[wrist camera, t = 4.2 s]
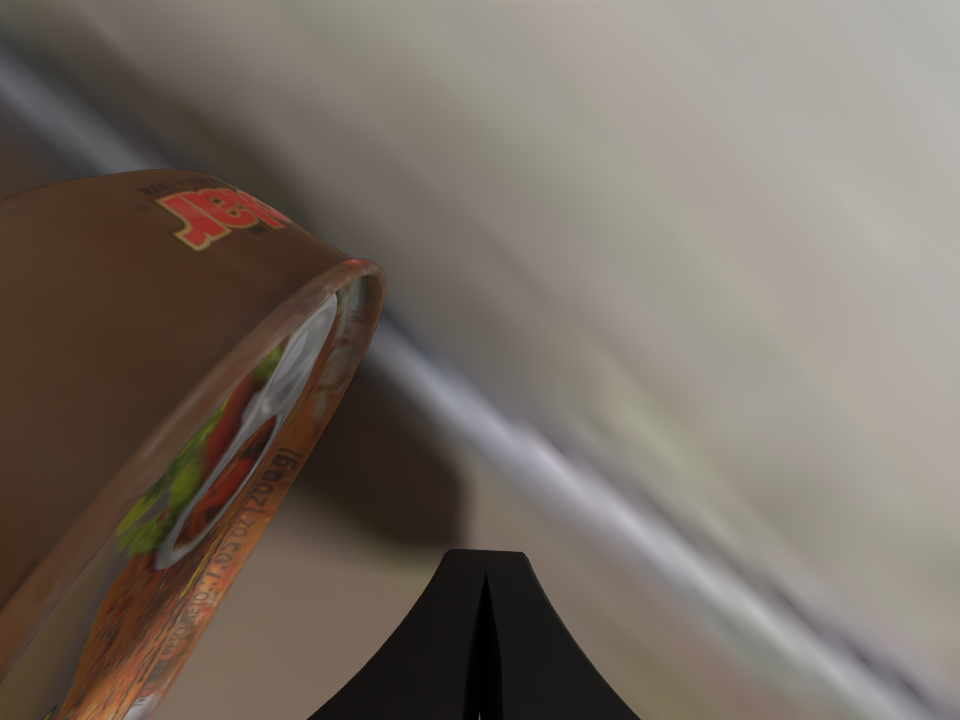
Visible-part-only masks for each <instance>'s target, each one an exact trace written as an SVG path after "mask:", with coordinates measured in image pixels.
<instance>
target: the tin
mask: <svg viewBox="0 0 960 720" xmlns="http://www.w3.org/2000/svg"><path fill="white" fill-rule="evenodd" d="M385 292H386V282H385V276H384V273H383V270H382V268H381V267H380V266H378V265H377V264H376V263H374V262H372V261H370V260H366V259H353V258H351V257H349V256H348V255H346V254H344V253H343V252H341V251H339V250H338V249H336V248H334V247H333V246H331V245H329V244H327V243H326V242H324V241H322V240H321V239H319V238H317V237H316V236H314V235H313V234H311V233H310V232H308V231H307V230H305V229H304V228H302V227H301V226H299V225H298V224H296V223H295V222H293V221H292V220H290V219H289V218H287V217H286V216H284V215H283V214H281V213H280V212H278V211H277V210H275V209H274V208H272V207H271V206H269V205H267V204H265V203H264V202H262V201H260V200H258V199H257V198H255V197H253V196H251V195H250V194H248V193H246V192H244V191H243V190H241V189H239V188H237V187H235V186H234V185H232V184H230V183H227V182H225V181H223V180H221V179H219V178H216V177H214V176H212V175H208V174H205V173H202V172H197V171H190V170H181V169H150V170H138V171H131V172H123V173H116V174H109V175H103V176H96V177H89V178H82V179H75V180H68V181H62V182H58V183H55V184H51V185H47V186H43V187H39V188H35V189H32V190H28V191H24V192H21V193H18V194H16V195H13V196H11V197H8V198H6V199H3V200H0V720H151V718H152V716H153V715H154V713H155V711H156V710H157V708H158V707H159V705H160V704H161V702H162V701H163V699H164V697H165V696H166V694H167V692H168V691H169V689H170V687H171V686H172V684H173V682H174V681H175V679H176V677H177V676H178V673H179V672H180V670H181V669H182V668H183V666H184V664H185V662H186V661H187V659H188V657H189V656H190V654H191V653H192V651H193V649H194V647H195V645H196V644H197V642H198V640H199V639H200V637H201V635H202V634H203V632H204V630H205V629H206V627H207V625H208V624H209V622H210V621H211V619H212V617H213V615H214V614H215V612H216V610H217V608H218V607H219V605H220V604H221V602H222V601H223V599H224V597H225V596H226V594H227V592H228V590H229V589H230V587H231V585H232V584H233V582H234V580H235V578H236V577H237V575H238V574H239V572H240V570H241V569H242V567H243V566H244V564H245V562H246V561H247V559H248V557H249V556H250V554H251V552H252V550H253V549H254V547H255V545H256V544H257V542H258V540H259V539H260V537H261V535H262V534H263V532H264V531H265V529H266V527H267V526H268V524H269V522H270V521H271V519H272V517H273V516H274V514H275V512H276V511H277V509H278V507H279V506H280V504H281V503H282V501H283V499H284V498H285V496H286V494H287V493H288V491H289V489H290V488H291V486H292V484H293V482H294V481H295V479H296V477H297V476H298V474H299V472H300V470H301V469H302V467H303V465H304V464H305V462H306V460H307V459H308V457H309V455H310V454H311V452H312V450H313V449H314V447H315V445H316V444H317V442H318V440H319V439H320V437H321V435H322V434H323V432H324V430H325V428H326V426H327V425H328V423H329V422H330V420H331V418H332V416H333V414H334V412H335V410H336V408H337V407H338V405H339V403H340V401H341V399H342V398H343V395H344V393H345V391H346V389H347V388H348V386H349V384H350V382H351V380H352V378H353V376H354V374H355V372H356V370H357V368H358V366H359V364H360V362H361V360H362V358H363V356H364V354H365V352H366V350H367V348H368V345H369V343H370V341H371V338H372V336H373V333H374V331H375V330H376V327H377V323H378V319H379V316H380V314H381V311H382V306H383V301H384V297H385Z"/></svg>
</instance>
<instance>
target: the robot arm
mask: <svg viewBox="0 0 960 720" xmlns="http://www.w3.org/2000/svg"><path fill="white" fill-rule="evenodd" d="M479 713H480V720H641V719H640V718H639V717H638V716H637V715H636V714H635V713H634V712H633V711H632V710H631V709H630V708H629V707H628V706H627V705H626V703H625V702H624V701H623V700H622V699H621V698H620V697H619V696H618V695H617V694H616V692H615V691H614V690H613V689H612V688H611V687H610V685H609V684H608V683H607V682H606V681H605V680H604V678H603V677H602V676H601V675H600V673H599V672H598V671H597V670H596V668H595V667H594V666H593V664H592V663H591V662H590V660H589V659H588V658H587V657H586V655H585V654H584V653H583V651H582V650H581V649H580V647H579V646H578V644H577V643H576V641H575V640H574V639H573V637H572V636H571V634H570V633H569V631H568V630H567V628H566V627H565V625H564V624H563V622H562V620H561V619H560V617H559V616H558V614H557V613H556V611H555V610H554V608H553V606H552V605H551V603H550V601H549V600H548V598H547V596H546V594H545V592H544V591H543V589H542V587H541V585H540V583H539V581H538V579H537V577H536V575H535V573H534V571H533V569H532V567H531V564H530V562H529V559H528V558H527V557H526V555H525V554H524V553H523V552H512V551H491V550H470V549H450V550H449V551H448V552H446V553H445V554H444V556H443V558H442V561H441V563H440V565H439V567H438V569H437V570H436V572H435V574H434V576H433V577H432V579H431V581H430V582H429V584H428V585H427V587H426V588H425V590H424V592H423V593H422V595H421V596H420V597H419V599H418V600H417V602H416V603H415V604H414V606H413V607H412V609H411V610H410V611H409V613H408V614H407V616H406V617H405V618H404V620H403V621H402V622H401V624H400V625H399V626H398V627H397V628H396V630H395V631H394V632H393V633H392V634H391V636H390V637H389V638H388V639H387V641H386V642H385V643H384V644H383V645H382V647H381V648H380V649H379V650H378V651H377V652H376V654H375V655H374V656H373V657H372V658H371V659H370V660H369V661H368V662H367V663H366V664H365V666H364V667H363V668H362V669H361V670H360V671H359V672H358V673H357V674H356V675H355V676H354V677H353V678H352V679H351V680H350V681H349V682H348V683H347V684H346V685H345V686H344V687H343V688H342V689H341V690H340V691H338V692H337V693H336V694H335V695H334V696H333V697H332V698H331V699H330V700H328V701H327V702H326V703H325V704H324V705H323V706H322V707H320V708H319V709H318V710H317V711H316V712H315V713H314V714H312V715H311V716H310V717H309V718H308V719H307V720H479Z"/></svg>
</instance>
